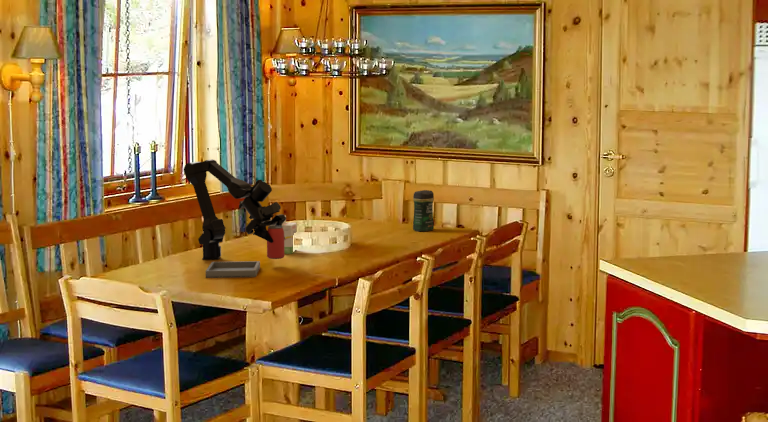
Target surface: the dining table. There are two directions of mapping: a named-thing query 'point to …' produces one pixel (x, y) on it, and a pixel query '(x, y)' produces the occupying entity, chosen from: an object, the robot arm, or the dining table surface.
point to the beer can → (276, 242)
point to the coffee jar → (423, 210)
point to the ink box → (289, 236)
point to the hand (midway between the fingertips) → (278, 240)
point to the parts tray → (233, 269)
